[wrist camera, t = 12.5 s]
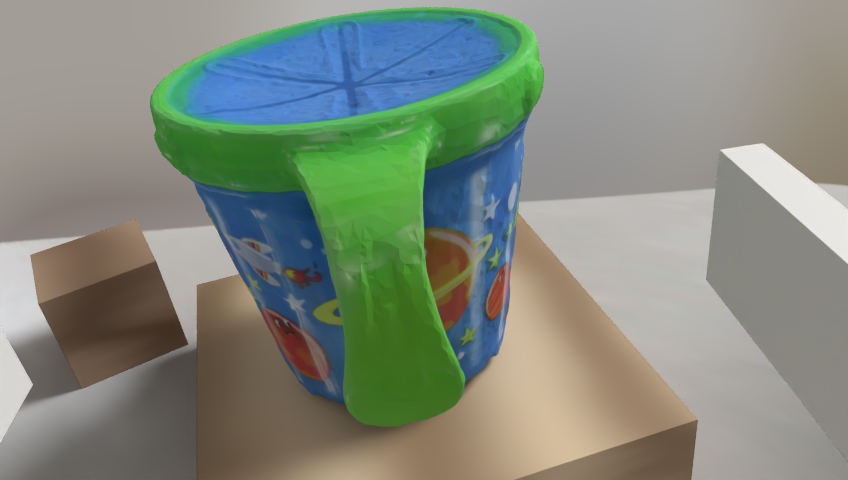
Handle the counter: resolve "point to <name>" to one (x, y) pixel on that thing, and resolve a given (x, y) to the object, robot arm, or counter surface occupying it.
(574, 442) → the oak base slab
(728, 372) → the counter surface
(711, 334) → the counter surface
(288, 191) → the snack cup
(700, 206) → the counter surface
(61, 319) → the walnut block
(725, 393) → the counter surface
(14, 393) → the robot arm
